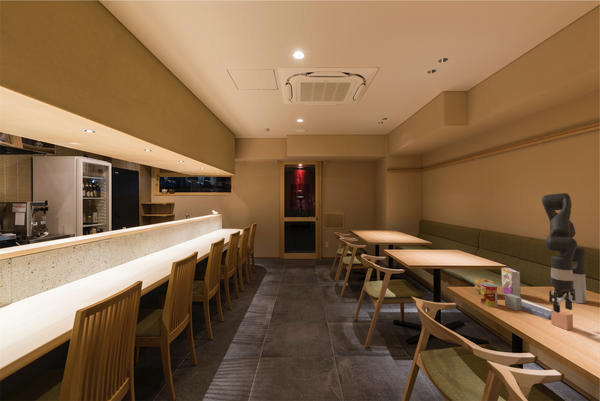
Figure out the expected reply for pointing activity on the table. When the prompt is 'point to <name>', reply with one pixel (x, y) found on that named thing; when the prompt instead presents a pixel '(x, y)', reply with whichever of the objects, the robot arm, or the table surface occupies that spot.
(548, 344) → the table surface
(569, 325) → the stub terracotta
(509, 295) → the stub grey
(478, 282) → the pot
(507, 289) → the candy bar box
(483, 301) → the canned food
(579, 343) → the table surface
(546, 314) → the ticket slab
